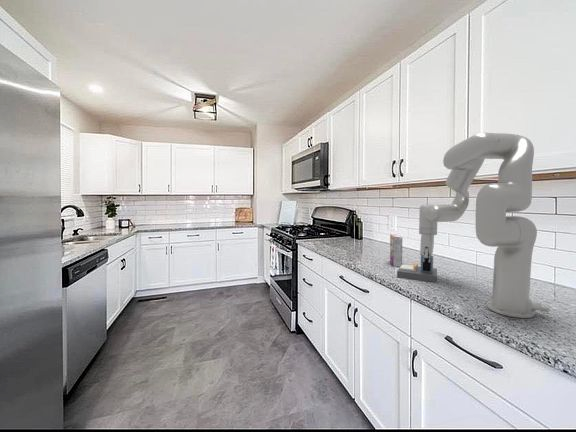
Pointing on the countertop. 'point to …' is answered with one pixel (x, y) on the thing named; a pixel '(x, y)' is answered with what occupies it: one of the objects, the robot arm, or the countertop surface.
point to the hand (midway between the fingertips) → (426, 269)
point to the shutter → (409, 267)
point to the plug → (430, 262)
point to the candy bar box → (396, 250)
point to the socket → (418, 275)
